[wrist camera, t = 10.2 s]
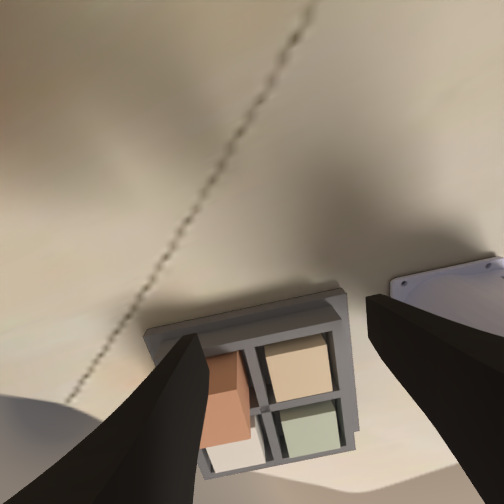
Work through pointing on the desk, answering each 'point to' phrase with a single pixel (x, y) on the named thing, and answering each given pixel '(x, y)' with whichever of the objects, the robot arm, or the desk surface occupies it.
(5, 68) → the desk surface
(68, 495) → the robot arm
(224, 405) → the terracotta block
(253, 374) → the frame board
